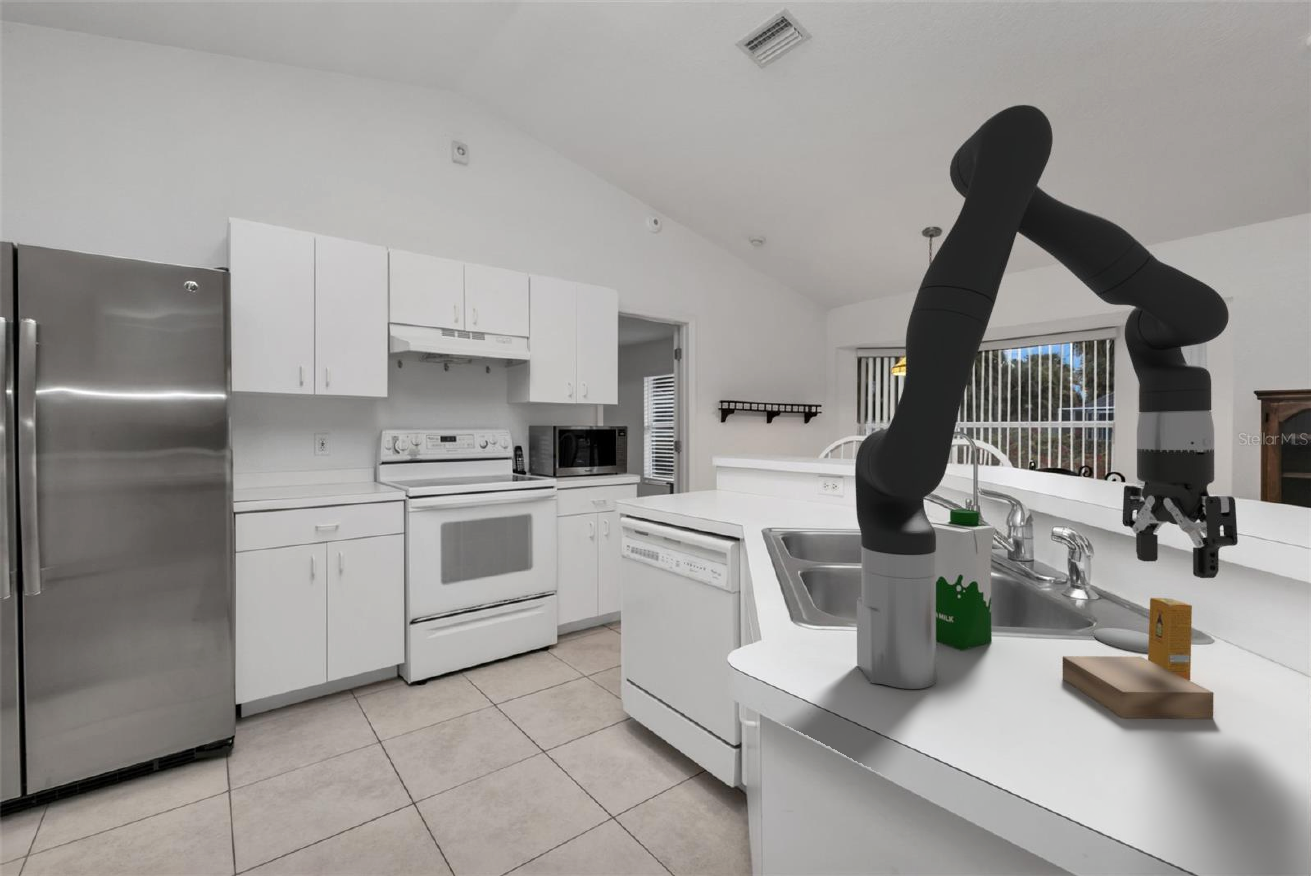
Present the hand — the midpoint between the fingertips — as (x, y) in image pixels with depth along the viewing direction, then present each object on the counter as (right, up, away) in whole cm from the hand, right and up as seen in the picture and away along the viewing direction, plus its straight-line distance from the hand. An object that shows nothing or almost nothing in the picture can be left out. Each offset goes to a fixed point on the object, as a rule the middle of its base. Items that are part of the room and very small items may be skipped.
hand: (1174, 568), depth 74 cm
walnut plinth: (-10, -15, -5) cm, 18 cm away
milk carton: (-21, -15, +14) cm, 29 cm away
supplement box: (0, -15, 0) cm, 15 cm away
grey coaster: (+4, -14, +12) cm, 19 cm away
